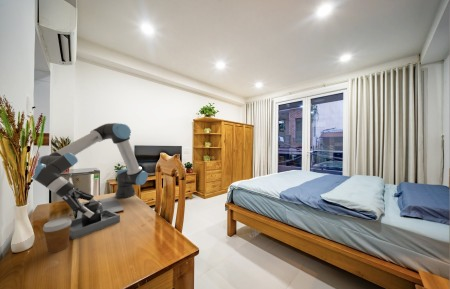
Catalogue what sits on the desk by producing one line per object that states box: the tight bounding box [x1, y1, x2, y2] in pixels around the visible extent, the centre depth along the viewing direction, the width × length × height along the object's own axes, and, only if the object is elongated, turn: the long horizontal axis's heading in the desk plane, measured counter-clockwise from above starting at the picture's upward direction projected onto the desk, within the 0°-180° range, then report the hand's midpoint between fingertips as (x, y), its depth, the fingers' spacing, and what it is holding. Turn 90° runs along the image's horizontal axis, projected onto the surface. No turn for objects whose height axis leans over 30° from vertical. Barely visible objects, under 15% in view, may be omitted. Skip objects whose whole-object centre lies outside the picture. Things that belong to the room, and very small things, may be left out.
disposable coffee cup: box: [42, 217, 72, 254], centre depth 78 cm, size 10×10×12 cm
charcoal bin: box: [69, 209, 121, 240], centre depth 99 cm, size 22×16×4 cm
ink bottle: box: [81, 200, 102, 227], centre depth 99 cm, size 10×9×12 cm
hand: (96, 210), depth 99 cm, fingers open, 13 cm apart
